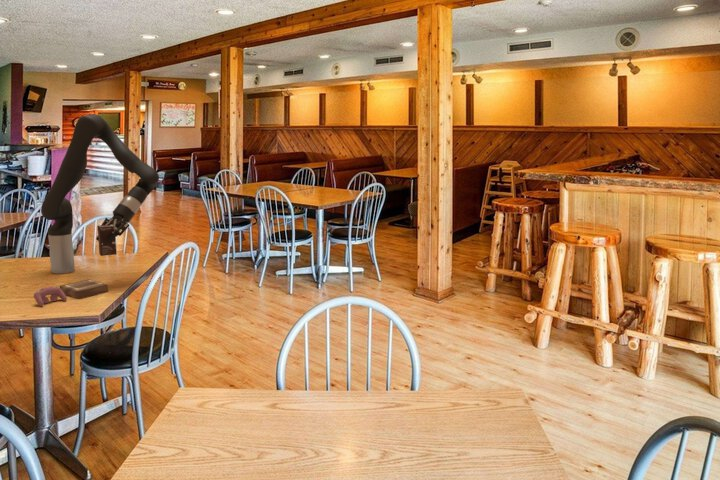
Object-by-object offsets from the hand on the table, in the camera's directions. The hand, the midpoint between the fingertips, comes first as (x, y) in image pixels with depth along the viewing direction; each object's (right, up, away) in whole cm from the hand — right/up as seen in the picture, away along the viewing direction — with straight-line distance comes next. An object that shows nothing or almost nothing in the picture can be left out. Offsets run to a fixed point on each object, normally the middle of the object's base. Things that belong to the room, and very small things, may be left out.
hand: (102, 241), depth 216 cm
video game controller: (-11, -23, -17) cm, 31 cm away
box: (+1, -6, +3) cm, 6 cm away
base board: (-5, -20, -4) cm, 21 cm away
